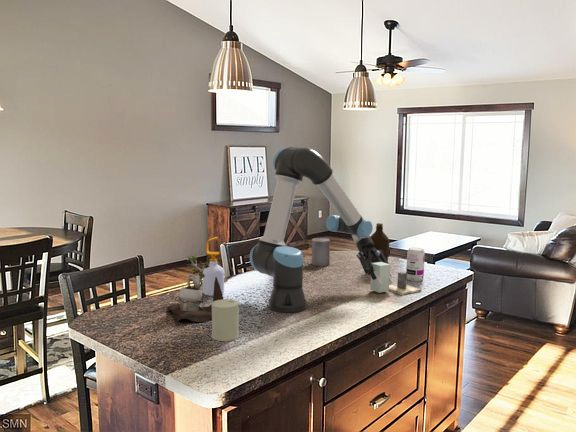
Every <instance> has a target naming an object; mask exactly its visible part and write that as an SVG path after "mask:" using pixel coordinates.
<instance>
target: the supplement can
mask: <svg viewBox="0 0 576 432" xmlns="http://www.w3.org/2000/svg"><path fill="white" fill-rule="evenodd" d="M425 256H426V252H425V251H424V248H421V247H409V248H408V250H407V252H406V270H405V271H406V272H405V273H407V280H408V281H411V282H412V281H413V282H421V280H422V281H423V280H424V276H425V275H424V274H425V258H426V257H425Z"/></svg>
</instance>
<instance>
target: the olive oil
mask: <svg viewBox="0 0 576 432" xmlns="http://www.w3.org/2000/svg"><path fill="white" fill-rule="evenodd" d="M371 234H372V235H371ZM371 234H370V238H371V239H372V241H373V243H374V247H375V248H376V249H377V250H379V251H380V250H382V251H383V255H384V256H385V258H386V260H387V261H388V260H389V252H390V251H389V250H390V238H389V237H388V236H387V235H386V233H385V232H384V226H383V223H380V222H379V223H376V226H375V231H374V232H373V233H371ZM371 261H372V263H376V262H375V261H373V259H371ZM388 262H389V261H388Z"/></svg>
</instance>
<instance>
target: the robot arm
mask: <svg viewBox="0 0 576 432" xmlns="http://www.w3.org/2000/svg"><path fill="white" fill-rule="evenodd" d="M272 164H273V165H272V166H273V167H274V169H273V170H274V171H275V174H274V176H275V179H276V180H277V181H276V185H275V189H274V193H273V196H272V197H273V198H272V200H271V206H270V210H269V213H268V217H267V222H266V225H265V229H264V232H263V236H262V237H260V238H258V242H257V244H256V245H254V246H253V247H252V248H251V250H250V253H249V262H250V265H251V266H252V268H253V269H254V270H255V271H257V272H259V273H260V274H264V275H267V276H270V277H272V278H273V279H272V282H273V283H272V290H271V293H270V297H269V299H268V308H269V309H270V310H272V311H274V312H279V313H297V312H302V311H305V310H306V309H307V300H306V298H305V291H304V289H303V279H304V277H303V275H304V254H303V251H301V250H300V249H298V248H295V247H292V246H288V245H287V244H286V243H285V237H286V233H287V227H288V224H289V221H290V216H291V212H292V208H293V203H294V201H295V200H294V199H295V195H296V193H297V188H298V186H299V185H300V184H302V183H303V179H304V178H307V179H308V180H310V181H311V183H312V184H313V185H315V186H317V187H318V188H319V189H320V191H321V192H322V194H323V195H324V196H325V197H326V198H325V199H327V200H328V202H329V203H330V204H331V206H332V208H333V209H334V210H335V211H336V212H337V214H329V216H328V217H327V218H326V223H325V226H326V229H327V230H328V231H330V232H334V233H341V234H347V235H351V238H352V239H353V242H354V243H355V245H356V248H357V250H358V251H359V252H357V254H356V257H357V258H358V260H359V262H360V264H361V267H362V269H363V271H364V273H365V274H367V275H368V276H370V278H371V277H372V279H373V280H374V281H375V283H376V285H377V287H379V286H380V285H381V284H382V283H381V281H380V279H379V277H378V275H377V273H376V271H374V270H373V266H372V264H371V263H372V261H371V259H373V261H375V262H384V263H387V264H390V263H389V261H387V260H386V258H385V256H384V255H383V251H382V250H380V251H379V250H377V249H376V248H375V247H374V243H373V241H372V239H371V238H370V237H371V234H372V232H373V229H374V227H373V226H374V225H373V223H372V222H371V221H370V220H367V219H365V218H363V216H362V215H361V213H360V212H359V211H358V209H357V207H355V205H354V204H353V201H352V200H351V199H350V197H349V196H348V195H347V194H346V192H345V191H344V189H343V187H342V186H341V185H340V183H339V182H338V181H337V178H336V176H334V171H333V169H332V167H331V166H330V164H329V163H328V161H326V160H325V158H324V157H323V156H322V155H321V154H319V152H317V151H316V150H315V149H312V148H311V147H297V146H296V147H295V146H294V147H293V146H288V147H282V148H281V149H279V150H278V151H276V153H275V155H274V157H273V159H272ZM373 271H374V272H373ZM391 276H392V274H390V280H389V285H393V283H394V280H393V279H392V277H391Z"/></svg>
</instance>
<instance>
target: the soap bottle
mask: <svg viewBox="0 0 576 432" xmlns="http://www.w3.org/2000/svg"><path fill="white" fill-rule="evenodd" d="M218 238H219V237H218V236H215V237H212V238H209V239H207V240H206V243H205V253H206V254H207V255H210V257H211V258H209V263H208V264H209V266H210V267H208V268H205V267H204V271H203V274H205V277H204V278H203V277H202V278H203V279H202V281H203V285H202V295H205V296H209V297H213V293H214V282H215V277H217V280H218V282H219V285H220V288H221V292H222V295H224V293H225V270H224V268H223V267H222V266H221V265H219V264H218V258H216V257H217V256H218V255H220V252H219V251H210V249H209V246H210V245H209V243H210V242H211V241H215V240H218Z"/></svg>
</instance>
